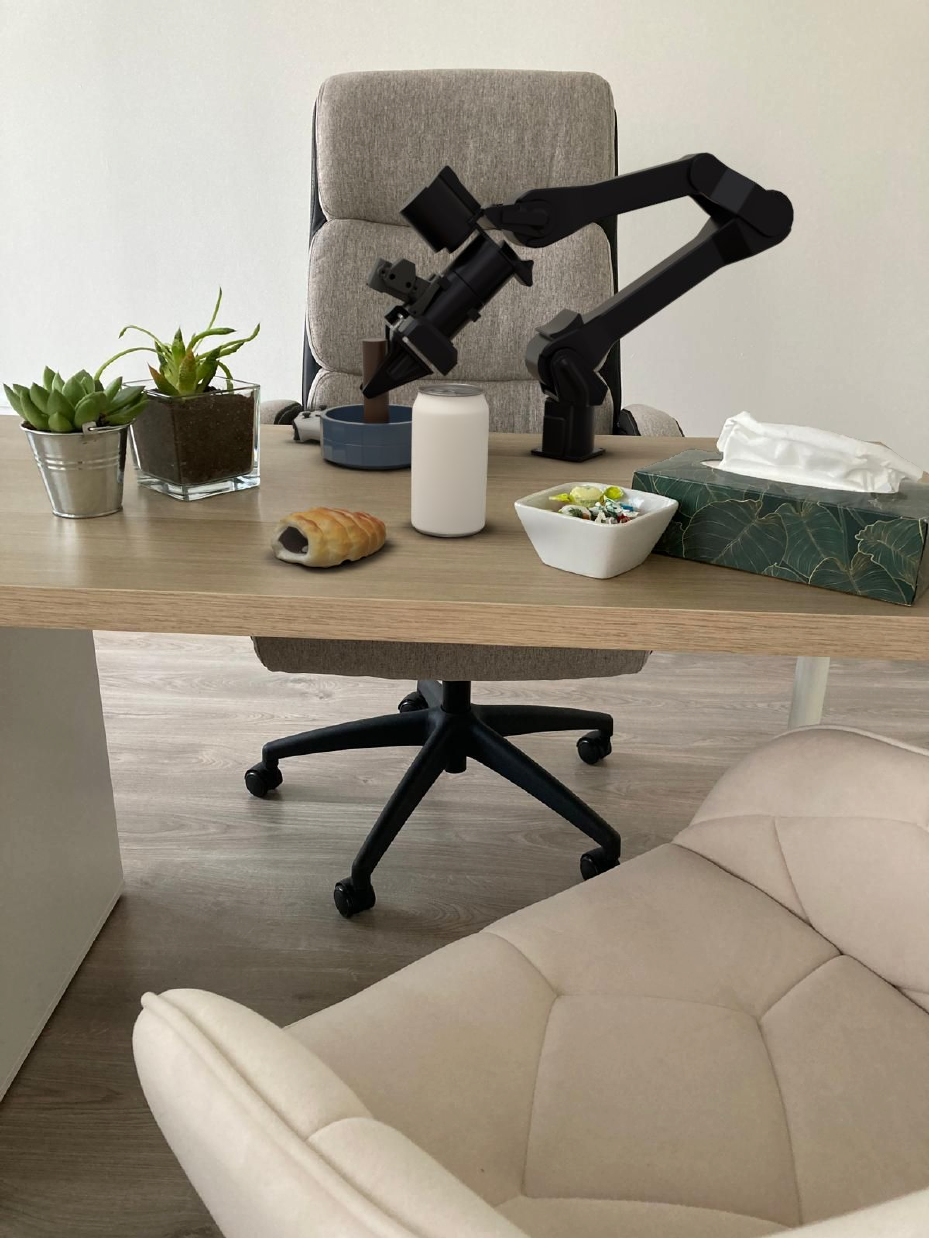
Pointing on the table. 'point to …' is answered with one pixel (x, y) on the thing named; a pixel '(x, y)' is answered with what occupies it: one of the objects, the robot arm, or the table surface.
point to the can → (449, 459)
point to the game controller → (308, 424)
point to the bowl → (366, 438)
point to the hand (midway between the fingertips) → (363, 393)
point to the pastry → (327, 536)
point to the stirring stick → (371, 359)
